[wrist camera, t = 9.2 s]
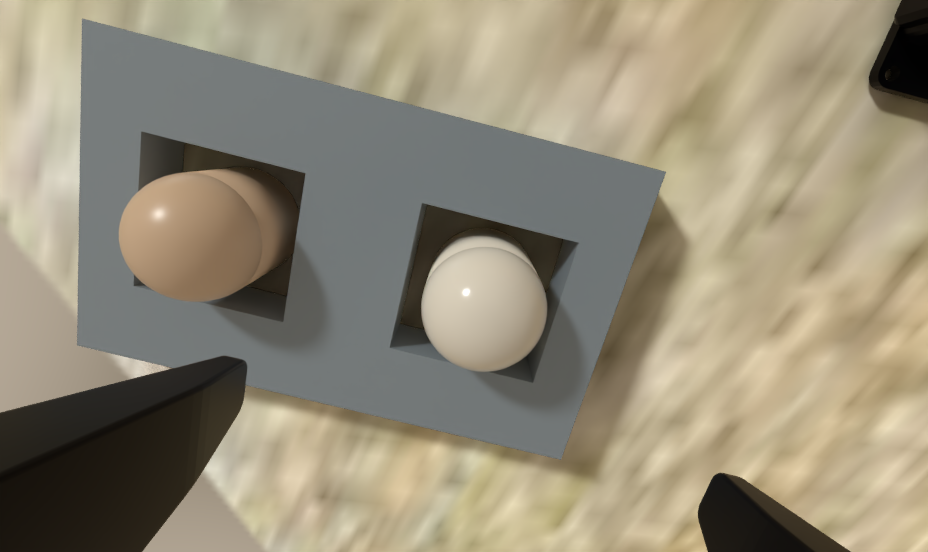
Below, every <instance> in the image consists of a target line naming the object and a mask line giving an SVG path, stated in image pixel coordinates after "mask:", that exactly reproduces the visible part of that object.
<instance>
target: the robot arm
mask: <svg viewBox="0 0 928 552" xmlns="http://www.w3.org/2000/svg"><path fill="white" fill-rule="evenodd" d="M888 69H889V70H890V72H891V74H890V78H889V79H888V80H886V77H885V73H886V71H887V70H888ZM869 83H870V84H871V86H872V87H873V88H875V89H877V90H880V91H884V92H888V93H891V94H895V95H899V96H902V97H906V98H910V99H913V100H917V101H920V102H924V103H928V0H902V1H901V3H900V5H899V7H898V9H897V12H896V14H895V19H894V22H893V24H892V26H891V28H890V30H889V32H888V35H887V37H886V39H885V41H884V43H883V45H882V48H881V50H880V52H879V54H878V56H877V58H876V61H875V63H874V65H873V67H872V69H871V72H870V75H869ZM246 377H247V363H246V361H245V360H242V359H238V358H234V357H230V356H219V357H215V358H212V359H208V360H204V361H200V362H196V363H192V364H188V365H184V366H180V367H176V368H173V369H169V370H165V371H161V372H157V373H153V374H149V375H145V376H141V377H137V378H134V379H130V380H126V381H122V382H118V383H114V384H110V385H107V386H102V387H98V388H95V389H91V390H87V391H83V392H79V393H75V394H71V395H67V396H63V397H59V398H56V399H52V400H48V401H44V402H40V403H36V404H32V405H28V406H24V407H20V408H17V409H13V410H9V411H5V412H1V413H0V552H142V551H143V550H144V548H145V547H146V546H147V545H148V543H149V542H150V541H151V540H152V538H153V537H154V536H155V534H156V533H157V532H158V531H159V529H160V528H161V527H162V526H163V524H164V523H165V522H166V520H167V519H168V518H169V517H170V515H171V514H172V513H173V511H174V510H175V509H176V508H177V506H178V505H179V504H180V502H181V501H182V500H183V499H184V497H185V496H186V495H187V493H188V492H189V490H190V489H191V488H192V486H193V485H194V484H195V482H196V481H197V479H198V478H199V476H200V475H201V473H202V471H203V470H204V468H205V467H206V465H207V463H208V462H209V460H210V459H211V457H212V455H213V454H214V452H215V451H216V449H217V447H218V446H219V444H220V443H221V441H222V439H223V438H224V436H225V434H226V433H227V431H228V430H229V428H230V426H231V425H232V423H233V422H234V420H235V418H236V417H237V415H238V413H239V412H240V409H241V407H242V404H243V400H244V393H245V385H246ZM698 520H699V524H700V527H701V530H702V534H703V537H704V540H705V544H706V547H707V550H708V552H850V551H849V550H847V549H846V548H844V547H843V546H841V545H840V544H839V543H837V542H836V541H834V540H833V539H831V538H830V537H828V536H827V535H825V534H824V533H822V532H821V531H819V530H818V529H816V528H815V527H813V526H812V525H810V524H809V523H808V522H806V521H805V520H803V519H802V518H800V517H799V516H797V515H796V514H794V513H793V512H791V511H790V510H788V509H787V508H785V507H784V506H782V505H781V504H779V503H778V502H777V501H775V500H774V499H772V498H771V497H769V496H768V495H766V494H765V493H763V492H762V491H760V490H759V489H757V488H756V487H754V486H753V485H751V484H750V483H748V482H747V481H746V480H744V479H742V478H740V477H738V476H734V475H729V474H725V473H718V474H716V475H715V476H713V478H712V480H711V482H710V484H709V486H708V488H707V490H706V492H705V495H704V497H703V499H702V501H701V503H700V505H699V509H698Z"/></svg>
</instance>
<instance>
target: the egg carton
mask: <svg viewBox="0 0 928 552" xmlns="http://www.w3.org/2000/svg"><path fill="white" fill-rule="evenodd" d="M184 143H189V144H193V145H197V146H201V147H205V148H209V149H213V150H216V151H220V152H224V153H228V154H232V155H236V156H240V157H244V158H248V159H252V160H256V161H260V162H264V163H267V164H271V165H275V166H279V167H283V168H287V169H291V170H295V171H299V172H303V173H306V174H305V181H304V187H303V194H302V201H301V207H300V214H299V210H298V207H297V205H296V203H295V200H294V199H293V197H292V195H291V194H290V192H289V191H288V190H287V189H286V187H285V186H284V185H283V184H282V183H281V182H279V181H278V180H277V179H276V178H274V177H273V176H271V175H269V174H268V173H265V172H263V171H261V170H258V169H254V168H249V167H234V168H224V169H214V170H204V171H193V172H183V173H182V169H183V156H184ZM665 173H666V172H664V171H661V170H657V169H653V168H649V167H645V166H642V165H638V164H634V163H630V162H626V161H623V160H619V159H615V158H611V157H607V156H604V155H600V154H596V153H592V152H588V151H584V150H581V149H577V148H573V147H569V146H565V145H562V144H558V143H554V142H550V141H546V140H543V139H539V138H535V137H531V136H527V135H524V134H520V133H516V132H512V131H508V130H505V129H501V128H497V127H493V126H489V125H485V124H482V123H478V122H474V121H470V120H466V119H463V118H459V117H455V116H451V115H447V114H444V113H440V112H436V111H432V110H428V109H425V108H421V107H417V106H413V105H409V104H406V103H402V102H398V101H394V100H390V99H386V98H383V97H379V96H375V95H371V94H367V93H364V92H360V91H356V90H352V89H348V88H345V87H341V86H337V85H333V84H329V83H326V82H322V81H318V80H314V79H310V78H307V77H303V76H299V75H295V74H291V73H287V72H284V71H280V70H276V69H272V68H268V67H265V66H261V65H257V64H253V63H249V62H246V61H242V60H238V59H234V58H230V57H227V56H223V55H219V54H215V53H211V52H208V51H204V50H200V49H196V48H192V47H188V46H185V45H181V44H177V43H173V42H169V41H166V40H162V39H158V38H154V37H150V36H147V35H143V34H139V33H135V32H131V31H128V30H124V29H120V28H116V27H112V26H109V25H105V24H101V23H97V22H93V21H90V20H86V19H82V62H81V128H80V194H79V260H78V326H77V328H78V330H77V345H78V346H82V347H87V348H91V349H95V350H99V351H103V352H107V353H112V354H116V355H120V356H124V357H129V358H133V359H137V360H141V361H146V362H150V363H154V364H158V365H162V366H167V367H171V368H176V367H180V366H184V365H188V364H192V363H196V362H200V361H204V360H208V359H212V358H215V357H219V356H230V357H234V358H238V359H242V360H245V361H246V363H247V377H246V385H247V386H251V387H255V388H260V389H264V390H268V391H272V392H277V393H281V394H285V395H289V396H294V397H298V398H302V399H306V400H310V401H315V402H319V403H323V404H327V405H332V406H336V407H340V408H344V409H349V410H353V411H357V412H361V413H365V414H370V415H374V416H378V417H382V418H387V419H391V420H395V421H399V422H403V423H408V424H412V425H416V426H420V427H425V428H429V429H433V430H437V431H442V432H446V433H450V434H454V435H458V436H463V437H467V438H471V439H475V440H480V441H484V442H488V443H492V444H496V445H501V446H505V447H509V448H513V449H518V450H522V451H526V452H530V453H535V454H539V455H543V456H547V457H551V458H556V459H560V460H561V458H562V455H563V453H564V450H565V447H566V444H567V442H568V439H569V436H570V433H571V431H572V428H573V425H574V422H575V420H576V417H577V414H578V411H579V409H580V406H581V403H582V401H583V398H584V395H585V392H586V390H587V387H588V384H589V381H590V379H591V376H592V373H593V370H594V368H595V365H596V362H597V360H598V357H599V354H600V351H601V349H602V346H603V343H604V340H605V338H606V335H607V332H608V329H609V327H610V324H611V321H612V318H613V316H614V313H615V310H616V308H617V305H618V302H619V299H620V297H621V294H622V291H623V288H624V286H625V283H626V280H627V277H628V275H629V272H630V269H631V266H632V264H633V261H634V258H635V256H636V253H637V250H638V247H639V245H640V242H641V239H642V236H643V234H644V231H645V228H646V225H647V223H648V220H649V217H650V214H651V212H652V209H653V206H654V204H655V201H656V198H657V195H658V193H659V190H660V187H661V184H662V182H663V179H664V176H665ZM427 204H428V205H432V206H436V207H440V208H444V209H448V210H452V211H456V212H460V213H464V214H468V215H471V216H475V217H479V218H483V219H487V220H491V221H495V222H499V223H503V224H507V225H511V226H515V227H519V228H523V229H526V230H530V231H534V232H538V233H542V234H546V235H550V236H554V237H558V238H562V239H564V240H563V243H562V246H561V249H560V252H559V255H558V259H557V262H556V265H555V268H554V271H553V274H552V278H551V281H550V284H549V287H548V290H547V293H546V300H547V318H546V323H545V327H544V330H543V333H542V335H541V337H540V339H539V341H538V342H537V344H536V345H535V347H534V348H533V349H532V351H531V352H530V353H529V354H528V355H527V356H525V357H524V358H523V359H522V360H520V361H519V362H517V363H515V364H514V365H511V366H509V367H507V368H504V369H501V370H497V371H489V372H478V371H472V370H468V369H465V368H462V367H459V366H457V365H455V364H453V363H451V362H450V361H448V360H447V359H446V358H444V357H443V356H442V355H441V354H440V353H439V352H438V351H437V350H436V348H435V347H434V346H433V345H432V343H431V342H430V340H429V338H428V336H427V334H426V332H425V330H423V329H419V328H414V327H410V326H406V325H402V324H400V322H401V318H402V313H403V309H404V304H405V300H406V296H407V291H408V287H409V282H410V278H411V274H412V269H413V265H414V260H415V256H416V252H417V247H418V243H419V238H420V234H421V230H422V225H423V221H424V216H425V212H426V208H427ZM293 252H294V254H293V261H292V267H291V274H290V281H289V287H288V294H287V296H284V295H279V294H275V293H271V292H267V291H263V290H259V289H255V288H251V287H247V285H248V284H250V283H251V282H253V281H255V280H256V279H258V278H260V277H261V276H263V275H265V274H266V273H268V272H269V271H271V270H273V269H274V268H276V267H278V266H279V265H281V264H282V263H284V262H285V261H286V260H287V259H288V258H289V257H290V256H291V255H292V253H293Z"/></svg>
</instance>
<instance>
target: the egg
mask: <svg viewBox="0 0 928 552" xmlns="http://www.w3.org/2000/svg"><path fill="white" fill-rule="evenodd" d="M421 315H422V321H423V325H424V329H425V332H426V334H427V336H428V338H429V340H430V342H431V343H432V345H433V346H434V347H435V348H436V350H437V351H438V352H439V353H440V354H441V355H442V356H443V357H444V358H446V359H447V360H448V361H450V362H451V363H453V364H455V365H457V366H459V367H462V368H465V369H468V370H472V371H478V372H489V371H497V370H501V369H504V368H507V367H509V366H511V365H514V364H515V363H517V362H519V361H520V360H522V359H523V358H524V357H525V356H527V355H528V354H529V353H530V352H531V351H532V349H533V348H534V347H535V345H536V344H537V342H538V341H539V339H540V337H541V335H542V333H543V330H544V327H545V323H546V318H547V300H546V294H545V291H544V288H543V285H542V282H541V280H540V278H539V276H538V274H537V272H536V270H535V268H534V266H533V264H532V262H531V260H530V258H529V256H528V254H527V253H526V251H525V250H524V248H523V247H522V246H521V245H520V244H519V243H518V242H517V241H516V240H515V239H514V238H512V237H511V236H509V235H508V234H505V233H503V232H501V231H498V230H494V229H489V228H476V229H470V230H466V231H464V232H461V233H459V234H457V235H455V236H453V237H452V238H450V239H449V240H448V241H447V242H446V243H445V244H444V245H443V246H442V247H441V248H440V249H439V251H438V253H437V254H436V256H435V258H434V260H433V263H432V266H431V269H430V272H429V276H428V279H427V282H426V285H425V288H424V291H423V295H422V302H421Z"/></svg>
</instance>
